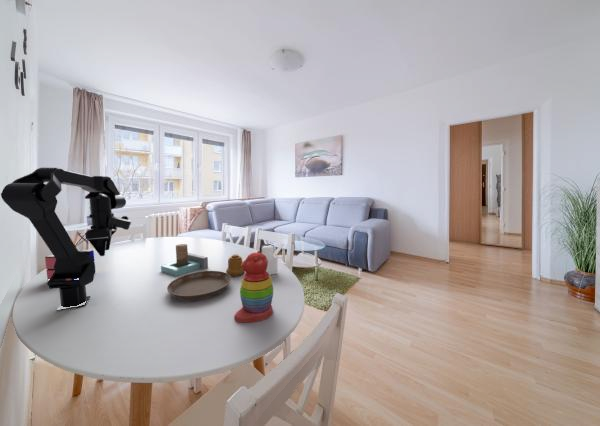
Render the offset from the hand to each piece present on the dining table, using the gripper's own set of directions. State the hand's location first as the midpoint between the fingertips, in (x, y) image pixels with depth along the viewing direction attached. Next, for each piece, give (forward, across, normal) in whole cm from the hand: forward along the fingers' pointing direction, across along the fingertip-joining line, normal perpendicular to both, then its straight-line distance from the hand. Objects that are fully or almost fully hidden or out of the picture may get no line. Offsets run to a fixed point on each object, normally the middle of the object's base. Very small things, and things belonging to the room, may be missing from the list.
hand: (105, 252), depth 84 cm
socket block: (+12, +2, -25) cm, 28 cm away
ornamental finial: (+12, -14, -44) cm, 48 cm away
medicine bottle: (+12, -20, -56) cm, 61 cm away
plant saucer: (+12, -23, -29) cm, 39 cm away
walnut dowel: (+12, +3, -25) cm, 28 cm away
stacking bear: (+12, -48, -40) cm, 64 cm away
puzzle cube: (+12, +16, +13) cm, 24 cm away
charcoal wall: (+12, +6, -31) cm, 33 cm away
